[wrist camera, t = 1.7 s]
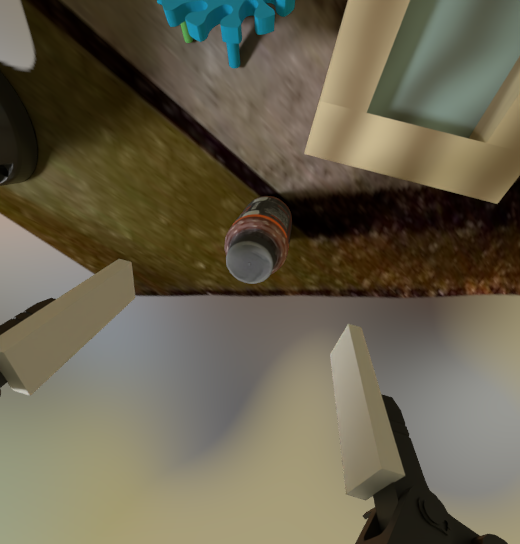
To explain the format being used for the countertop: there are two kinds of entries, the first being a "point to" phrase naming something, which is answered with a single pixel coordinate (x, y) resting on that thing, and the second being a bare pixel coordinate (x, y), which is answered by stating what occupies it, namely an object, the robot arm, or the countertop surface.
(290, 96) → the countertop surface
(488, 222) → the countertop surface
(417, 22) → the socket holder
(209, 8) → the gear
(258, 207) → the supplement bottle
